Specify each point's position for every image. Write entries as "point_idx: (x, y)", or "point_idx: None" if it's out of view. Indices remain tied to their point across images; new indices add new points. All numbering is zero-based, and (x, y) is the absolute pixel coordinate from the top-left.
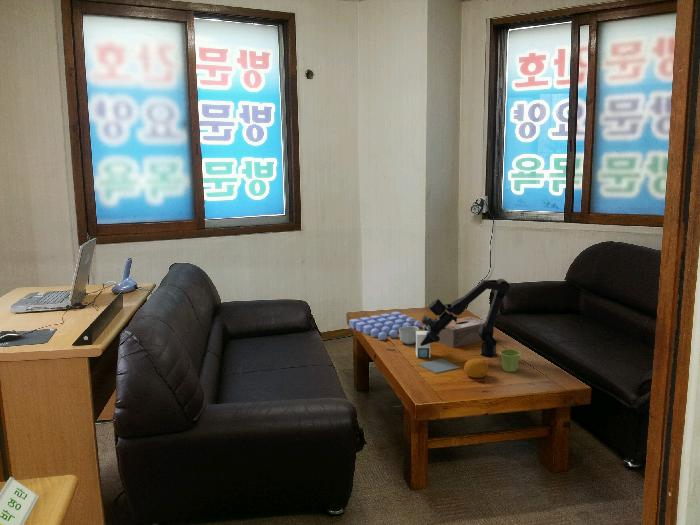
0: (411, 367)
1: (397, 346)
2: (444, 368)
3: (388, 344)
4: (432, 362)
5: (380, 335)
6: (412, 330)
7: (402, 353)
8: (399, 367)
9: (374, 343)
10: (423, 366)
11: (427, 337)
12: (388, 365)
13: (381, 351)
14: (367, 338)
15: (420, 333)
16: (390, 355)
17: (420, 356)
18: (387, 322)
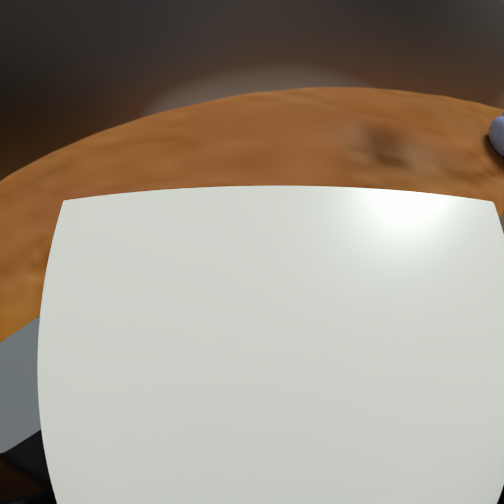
0: (35, 253)
1: (452, 191)
2: (3, 437)
3: (461, 153)
4: None
5: (497, 119)
6: None
7: None
8: (55, 188)
9: (444, 105)
10: (22, 328)
11: (18, 470)
12: (98, 136)
13: (342, 102)
14: (479, 103)
15: (186, 354)
16: (270, 132)
17: None
18: None
